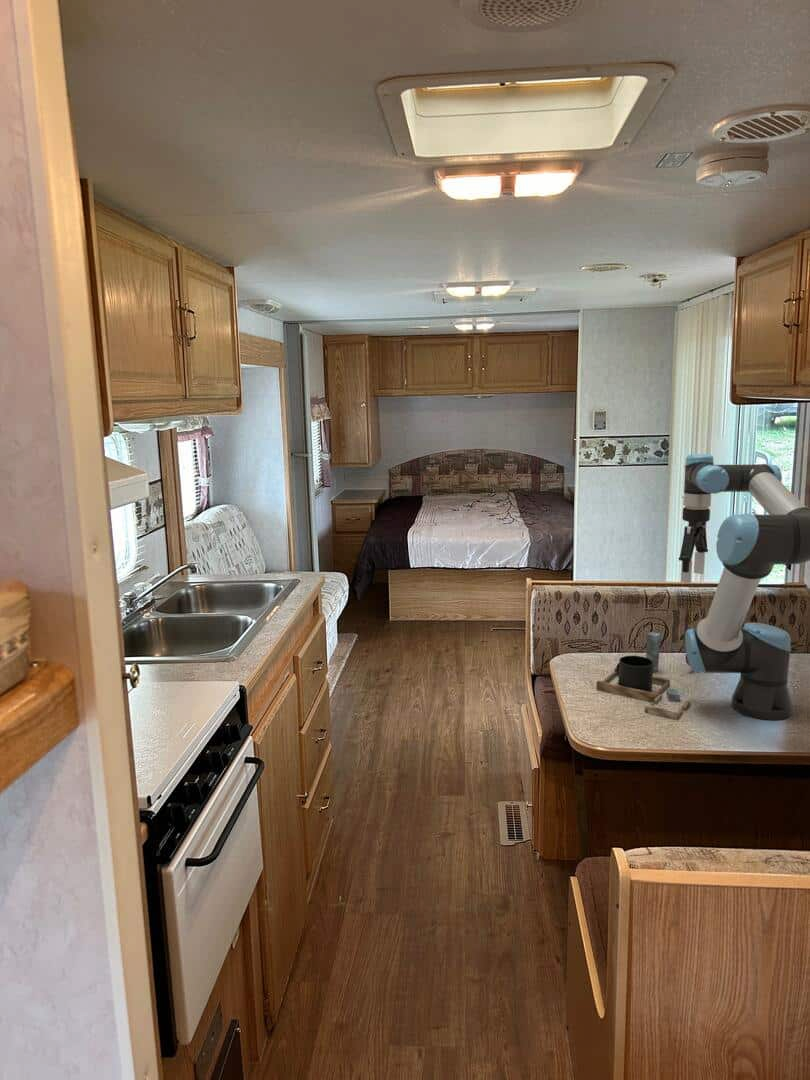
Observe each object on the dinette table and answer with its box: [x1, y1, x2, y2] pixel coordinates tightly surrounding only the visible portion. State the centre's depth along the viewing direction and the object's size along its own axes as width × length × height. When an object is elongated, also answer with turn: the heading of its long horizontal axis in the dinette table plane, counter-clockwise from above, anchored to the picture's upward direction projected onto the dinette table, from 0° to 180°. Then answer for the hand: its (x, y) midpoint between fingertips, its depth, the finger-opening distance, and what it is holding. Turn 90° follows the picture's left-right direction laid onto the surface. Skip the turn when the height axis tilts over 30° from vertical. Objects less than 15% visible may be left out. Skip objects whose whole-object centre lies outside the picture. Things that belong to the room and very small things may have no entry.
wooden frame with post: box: [595, 631, 671, 703], centre depth 230 cm, size 17×26×12 cm, turn 144°
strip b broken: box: [644, 687, 691, 721], centre depth 214 cm, size 9×17×2 cm, turn 144°
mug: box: [615, 655, 654, 692], centre depth 225 cm, size 9×12×9 cm
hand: (692, 578), depth 230 cm, fingers open, 13 cm apart
